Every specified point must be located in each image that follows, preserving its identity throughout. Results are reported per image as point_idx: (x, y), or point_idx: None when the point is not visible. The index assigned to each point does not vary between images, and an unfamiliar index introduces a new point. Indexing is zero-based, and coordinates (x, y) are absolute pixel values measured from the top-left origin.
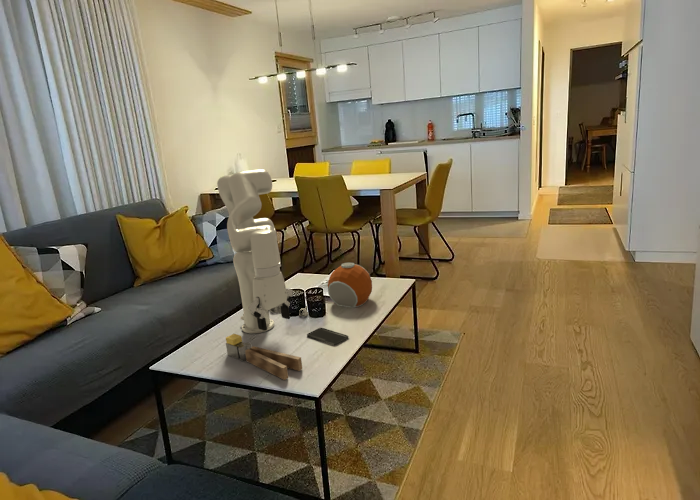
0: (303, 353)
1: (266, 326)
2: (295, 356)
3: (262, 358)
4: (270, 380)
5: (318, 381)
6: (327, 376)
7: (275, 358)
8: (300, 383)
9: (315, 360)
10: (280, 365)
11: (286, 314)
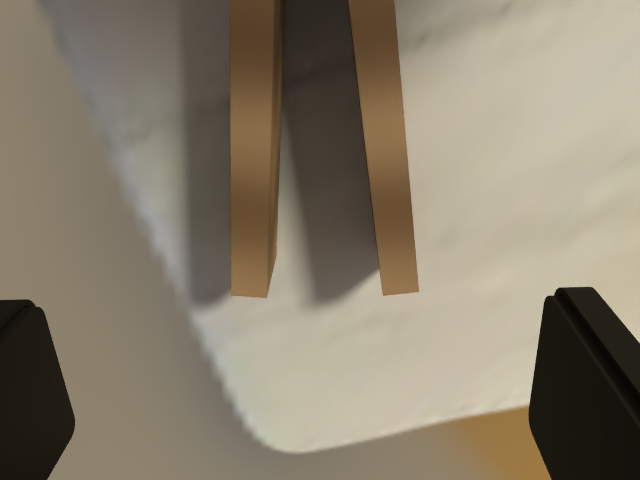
0: (612, 77)
1: (48, 469)
2: (409, 248)
3: (231, 29)
4: (195, 170)
5: (353, 398)
6: (418, 403)
7: (354, 54)
8: (284, 339)
9: (549, 232)
10: (246, 254)
11: (558, 456)
